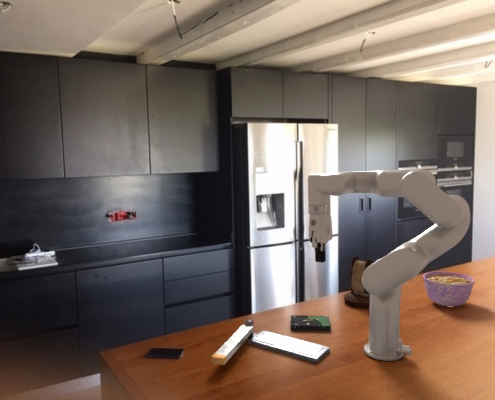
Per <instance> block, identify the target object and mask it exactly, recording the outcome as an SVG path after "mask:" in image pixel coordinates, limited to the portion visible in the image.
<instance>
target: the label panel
mask: <svg viewBox="0 0 495 400" xmlns="http://www.w3.org/2000/svg"><path fill="white" fill-rule="evenodd" d="M245 341H247V343H248V345H251V346H254V347H258V348H261V349H264V350H267V351H271V352H275V353H278V354H281V355H286V356H289V357H292V358H296V359H299V360H303V361H307V362H310V363H313V364H317V363H319V362H320V361H321V360H322V359H324V357H326V356H327V355H328V354H329V353H330V352H331V347H329V346H326V345H322V344H319V343H314V342H310V341H307V340H303V339H299V338H296V337H291V336H287V335H283V334H279V333H277V332H276V333H275V332H272V331H267V330H262V331H260V332H258V333H256V332H254V334H253V335H251V336H249V337H248V338H247V339H246V340H245Z"/></svg>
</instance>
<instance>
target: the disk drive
mask: <svg viewBox="0 0 495 400" xmlns="http://www.w3.org/2000/svg"><path fill="white" fill-rule="evenodd" d="M290 331H291V332H297V331H298V332H299V331H300V332H329V333H330V332H331V331H332V326H331V319H330V316H326V315H325V316H324V315H298V314H297V315H294V314H293V315H290Z"/></svg>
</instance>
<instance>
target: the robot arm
mask: <svg viewBox="0 0 495 400" xmlns="http://www.w3.org/2000/svg"><path fill="white" fill-rule="evenodd" d="M348 194H372V195H373V194H374V195H376V196H377V197H381V198H406V199H407V200H408V201H409V202H410V203H411V204H412V205H413V206H414V207H416V208H417V210H418V211H420V212H421V213H422V214H423V215H424V216H425V217H427V218H428V219H429V220H430V221H431V222H432V223H434V224H433V225H431V226H430V227H428V228H427V229H425V230H424V231H423V232H421V234H418V235H417V236H416V237H413V238H411V239H410V240H408V241H406V242H403V243H402V244H401V245H399V246H398V247H396V248H395V249H394V250H392V251H391V252H389V253H387V254H386V255H385V256H383V257H382V258H379V259H377V260H375V261H374V262H373V264H371V265H370V266H369V267H367V268H366V269H365V271H364V272H363V275H362V284H363V287H364V288H365V290H366V291H367V292H369V293H370V305H369V310H368V311H369V312H368V313H369V321H368V322H369V324H368V342H367V343H366V344H365V345H364V346H363V352H364V353H365V355H367V356H368V357H370V358H371V359H375V360H379V361H386V362H391V361H398V360H401V359H402V358H403V357H404V355H406V356H412V355H413V350H412V349H411V346H409V345H404V344H403V340H402V339H400V321H401V320H400V319H401V317H400V315H401V294H402V285H404V284H405V283H407V282H409V281H410V280H413V278H415V277H416V276H417V275H419V274H420V273H421V272H422V271H423V270H424V269H425V268H426V266H428V265H429V264H430V263H431V262H433V261H434V260H436V259H437V258H439V257H440V256H442V255H444V254H445V253H447V252H448V251H450V250H451V249H453V248H454V247H456V245H458V244H459V243H460V241H462V240H463V238H464V237H465V235H466V234H467V232H468V230H469V228H470V224H471V210H470V205H469V203H468V202H467V201H466V199H465V198H464V197H463V196H460V195H456V194H448V193H446V192H444V190H442V188H440V187H439V186H438V185H437V180H436V177H435V175H434V174H433V173H432V172H431V171H430V170H426V169H421V168H420V169H417V168H416V169H380V170H360V171H358V170H356V171H355V170H354V171H340V172H335V173H329V174H328V173H326V172H316V173H310V174H308V175H307V204H308V206H307V207H308V209H307V210H308V215H309V218H308V242H309V243H310V244H311V247H312V248H314V255H315V256H314V261H315V262H316V263H325V262H326V261H327V258H326V255H327V254H326V252H327V251H326V249H327V243H328V242H330V241H331V240H333V223H332V215H331V213H332V212H331V196H335V197H340V196H343V195H348Z"/></svg>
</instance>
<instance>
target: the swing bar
mask: <svg viewBox="0 0 495 400" xmlns="http://www.w3.org/2000/svg"><path fill="white" fill-rule="evenodd" d="M254 333H255V332H254V319H245V321H244V324H242V325H240V326H239V328H238V329H237V330H236V331H235V332H234V333H233V334H232V335H231V336H229V338H228V339H227V340H226V341H225V342H224V343H223V345H221V346H220V348H219V349H217V351H215V352H214V353H213V354H212V355H211V364H215V365H216V364H217V365H222V366H225V365H226V363H227V362H228V361H229V359H231V358H232V356H233V355H234V354H235V353H236V352H237V351H238V349H239V348H240V347H242V345H243V344H244V343H245V341H247V340H246V339H247V338H248V337H249V336H251V335H253V334H254Z"/></svg>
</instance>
